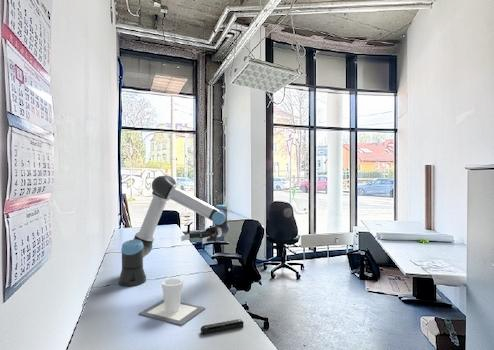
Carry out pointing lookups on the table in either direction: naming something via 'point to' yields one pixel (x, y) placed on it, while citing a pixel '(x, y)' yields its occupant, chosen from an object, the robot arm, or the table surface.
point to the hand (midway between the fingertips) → (192, 239)
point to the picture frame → (176, 318)
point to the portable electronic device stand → (221, 326)
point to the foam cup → (172, 294)
